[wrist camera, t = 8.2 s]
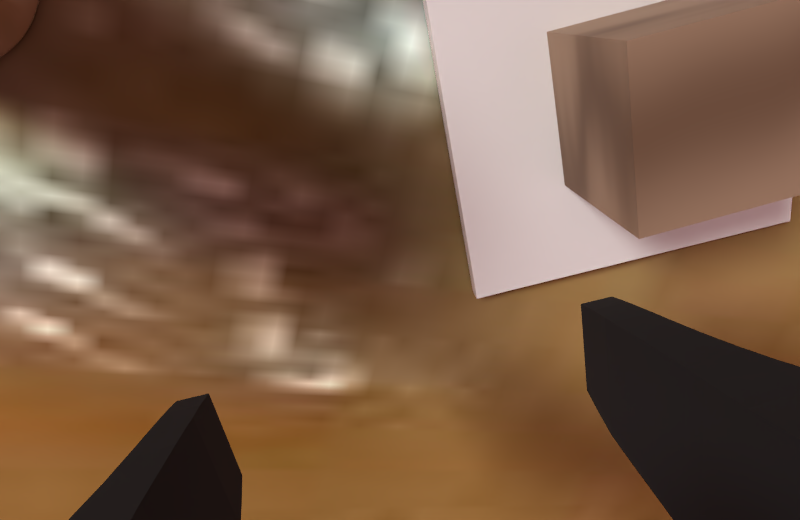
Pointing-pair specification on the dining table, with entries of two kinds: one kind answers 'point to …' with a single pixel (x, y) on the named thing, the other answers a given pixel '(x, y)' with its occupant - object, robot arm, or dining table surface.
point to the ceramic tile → (531, 149)
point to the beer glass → (15, 21)
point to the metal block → (680, 110)
